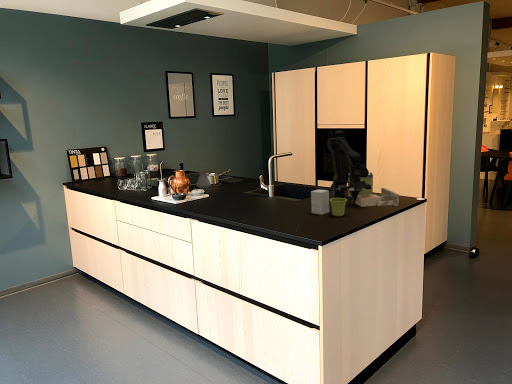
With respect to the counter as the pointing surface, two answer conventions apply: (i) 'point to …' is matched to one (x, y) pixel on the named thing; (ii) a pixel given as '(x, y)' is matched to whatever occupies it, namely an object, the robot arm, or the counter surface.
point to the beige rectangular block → (367, 200)
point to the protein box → (364, 192)
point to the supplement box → (320, 201)
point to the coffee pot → (203, 180)
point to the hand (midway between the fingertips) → (354, 201)
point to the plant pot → (338, 206)
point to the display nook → (388, 198)
